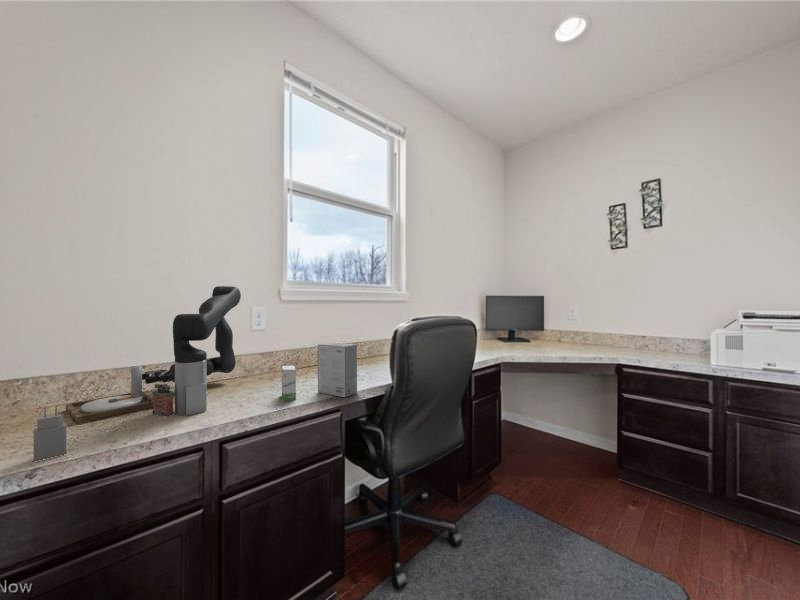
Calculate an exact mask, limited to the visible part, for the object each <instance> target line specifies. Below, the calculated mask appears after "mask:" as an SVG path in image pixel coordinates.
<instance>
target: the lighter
mask: <svg viewBox="0 0 800 600" xmlns="http://www.w3.org/2000/svg"><path fill="white" fill-rule="evenodd" d="M154 388H155V389H156V390H152V392H151V394H152V398H153V409H152V411H151V414H153V416H156V415H158V416H157V417H164V416H167V417H171V416H170V415H172V416H174V415H173V414H175V411H174V395H175V391H172V390H171V385H170V384H169V385H168V384H167V383H163V384H162V383H155V384H154Z"/></svg>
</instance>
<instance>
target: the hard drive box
mask: <svg viewBox="0 0 800 600" xmlns="http://www.w3.org/2000/svg"><path fill="white" fill-rule="evenodd" d="M357 346H358V345H357V344H354V343H352V344H351V343H337V342H336V343H335V342H328V343H319V344H317V392H318V393H322V394H325V395H331V396H336V397H341V398H347V397H350V396H353V395H356V394H358V347H357Z"/></svg>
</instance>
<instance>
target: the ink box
mask: <svg viewBox="0 0 800 600" xmlns="http://www.w3.org/2000/svg"><path fill="white" fill-rule="evenodd" d="M296 371H297V369H296V367H295V365H282V366H281V397H282V401H283V402H285V400H287V401H293V400H294V399H295V400H297V381H296V380H297V374H296V373H297V372H296ZM295 400H294V401H295Z"/></svg>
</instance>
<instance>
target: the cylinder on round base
mask: <svg viewBox="0 0 800 600" xmlns="http://www.w3.org/2000/svg"><path fill="white" fill-rule="evenodd" d="M142 374H143V365H135V366H131V367H130V393H131V395H125V396H116V395H114V396H115V397H110V396H107V397H108V398H104V397H102V398H103V399H99V398H97V399H98V400H94V401H91V402H88V403H85V404H83V405H82V406H81V412H83V413H88V414H92V413H97V412H102V411H107V410H112V409H117V408H122V407H127V406H132V405H137V404H140V403H142V397H141V396H142V392H143V380H142Z"/></svg>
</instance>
